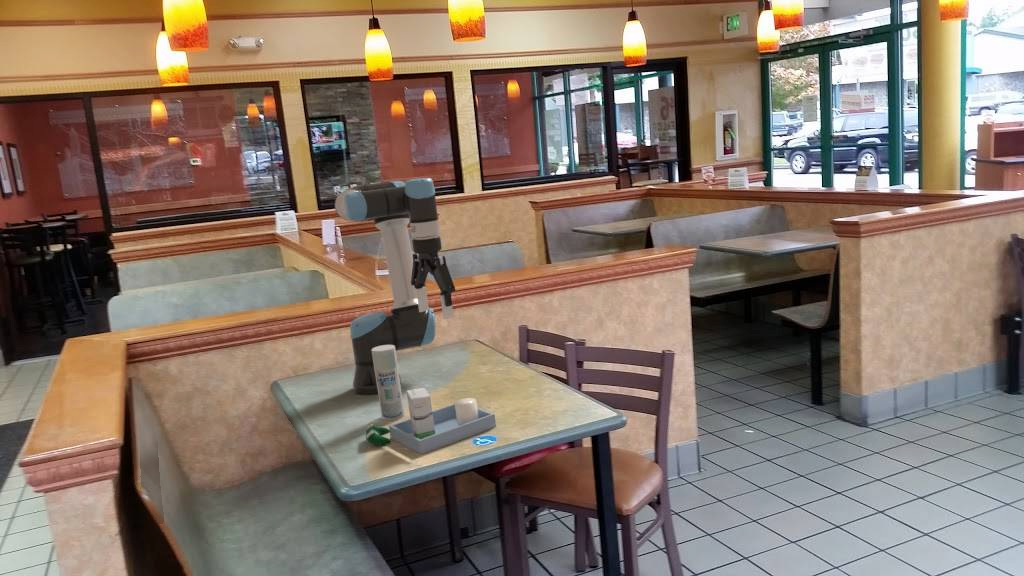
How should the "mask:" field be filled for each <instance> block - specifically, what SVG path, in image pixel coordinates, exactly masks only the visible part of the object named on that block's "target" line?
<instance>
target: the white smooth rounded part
mask: <svg viewBox="0 0 1024 576" xmlns="http://www.w3.org/2000/svg"><path fill="white" fill-rule="evenodd" d="M453 404H454V405H455V411H456V417H457V424H458V426H460V425H463V424H465V423H468V422H471V421H474V420H477V419H479V416H478V410H477V408H478V405H477V399H476V398H474V397H465V398H460V399H458V400H456V401H454V403H453Z"/></svg>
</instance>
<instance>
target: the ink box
mask: <svg viewBox="0 0 1024 576" xmlns="http://www.w3.org/2000/svg"><path fill="white" fill-rule="evenodd" d="M406 396H407V403H408V412H409V417H410V418H409V419H411V427H412V434H413V435H414V436H415V437H417V438H419V439H423V438H426V437H429V436H432V435H435V427H434V420H433V413H432V411H433V408H432V400H431V395H430V394H429V392H428V391H427V390H426V388H425V387H419V388H415V389H408V390H406Z"/></svg>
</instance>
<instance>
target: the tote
mask: <svg viewBox="0 0 1024 576" xmlns="http://www.w3.org/2000/svg"><path fill="white" fill-rule="evenodd" d="M477 410H478V416H479V419H477V420H474V421H471V422H468V423H465V424H463V425H460V426H458V424H457V417H456V411H455V405H454V403H452V404H450V405H447V406H443V407H441V408H438V409H434V410H432V413H433V420H434V427H435V435H432V436H429V437H426V438H423V439H419V438H417V437H415V436H414V435H413V434H412V427H411V419H410V418H408V419H405V420H402V421H400V422H396V423H393V424H390V425H388V429H389V430H390V432H389V436H390V440H393V441H395V442H397V443H399V444H401V445H403V446H405V447H407V448H409V449H410V450H412V451H414V452H416V453H418V454H420V455H423V454H426V453H429V452H431V451H434V450H436V449H439V448H442V447H444V446H448V445H450V444H454V443H455V442H456V443H457V442H459V441H461V440H464V439H466V438H469V437H472V436H475V435H477V434H480V433H483V432H486V431H488V430H491V429H493V428H496V427H497V422H496V416H495V413H492V412H490V411H487V410H484V409H482V408H479V407H477Z"/></svg>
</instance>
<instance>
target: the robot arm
mask: <svg viewBox="0 0 1024 576" xmlns="http://www.w3.org/2000/svg"><path fill="white" fill-rule="evenodd" d="M436 201H437V199H436V189H435V185H434V181H433V179H432V178H430V177H421V178H412V179H408V180H406V181H405V182H403V181H402V180H398V181H397V180H395V181H391V180H389V181H383V182H377V183H375V182H374V183H369V184H360V185H354V186H351V187H348V188H347V189H344V190H342V191H341V192H339V194H337V196H336V198H335V200H334V210H335V213H336V214H337V215H338V216H339V218H341V219H343V220H345V221H349V222H355V223H357V222H358V223H361V222H371V221H373V223H374V227H375V228H377V230H379V231H380V233H381V238H382V243H383V249H384V255H385V259H386V265H387V267H386V268H387V270H388V271H387V272H388V276H389V283H390V287H391V294H392V297H393V305H392V306H391V307H390V313H391V314H389V315H387V314H386V312H385V311H376V312H370V313H367V314H363V315H360V316H359V317H356V318H354V319H353V320H352V321H351V323H350V325H349V330H350V336H349V337H350V339H351V343H352V349H353V350H352V351H353V357H354V358H353V359H354V364H355V368H354V374H353V380H352V390H353V392H354V393H355V394H359V395H376V394H378V389H377V383H376V376H375V370H374V364H373V358H372V351H371V350H372V349H373V348H375V347H377V346H382V345H394V346H395V350H396V352H398V351H403V350H408V349H414V348H421V347H423V346H427V345H430V344H432V342H434V340H435V336H436V316H435V314H434V309H433V308H432V307H429V301H428V300H429V299H428V294H427V285H426V281H427V277H428V274H430V275H432V277H433V279H434V280H435V283H436V284H437V286H438V288H439V290H440V294H439V295H440V302H441V308H442V309H441V310H442V317H443V320H447V319H451V318H454V310H453V309H454V308H453V300H452V294H453V293H455V292H456V287H455V284H454V282H453V279H452V276H451V274H450V270H449V268H448V265H447V259H446V257H445V255H442V256H441V255H439V253H438V252H440V251H442V247H443V246H442V239H441V236H439V235H440V234H441V231H440V223H439V222H440V221H439V217H438V209H437V202H436ZM409 224H410V225H409ZM408 225H409V226H410V227H409V230H410V234H411V237H412V238H413V239H412V241H410V235H409V230H408ZM411 242H412V245H411ZM412 249H413V250H412ZM399 379H400V386H401V384H402V378H401V375H400V374H399Z"/></svg>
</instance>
